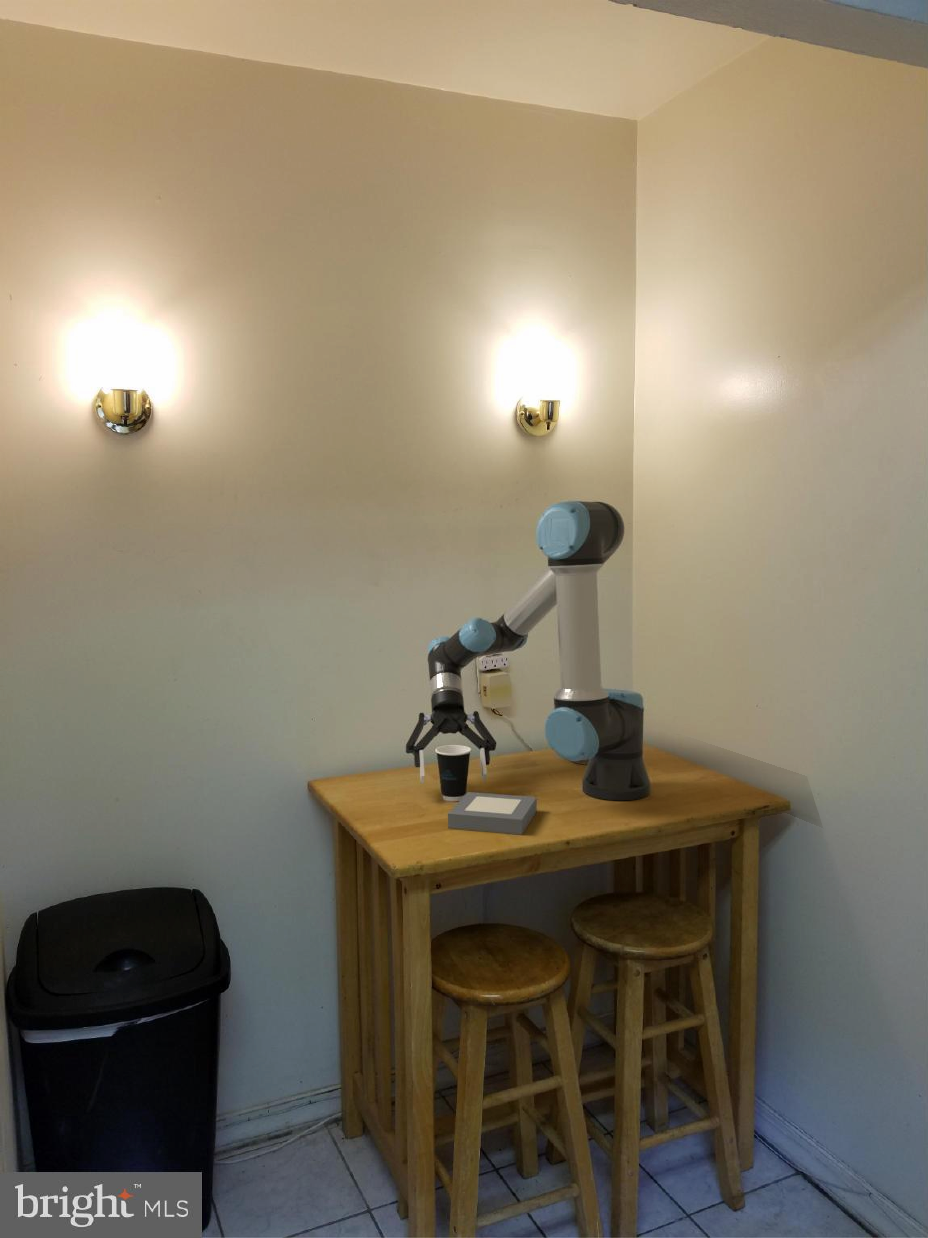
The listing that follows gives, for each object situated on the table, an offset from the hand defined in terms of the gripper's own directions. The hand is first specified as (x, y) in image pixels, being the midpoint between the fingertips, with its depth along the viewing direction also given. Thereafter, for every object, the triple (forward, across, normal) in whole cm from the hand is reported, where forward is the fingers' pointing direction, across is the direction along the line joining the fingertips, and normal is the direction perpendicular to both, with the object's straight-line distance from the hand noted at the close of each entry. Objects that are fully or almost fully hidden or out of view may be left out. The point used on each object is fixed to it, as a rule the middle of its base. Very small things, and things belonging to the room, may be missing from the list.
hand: (453, 778), depth 201 cm
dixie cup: (+2, 0, -5) cm, 5 cm away
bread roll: (-17, -37, -24) cm, 47 cm away
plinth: (+13, -7, +6) cm, 16 cm away
